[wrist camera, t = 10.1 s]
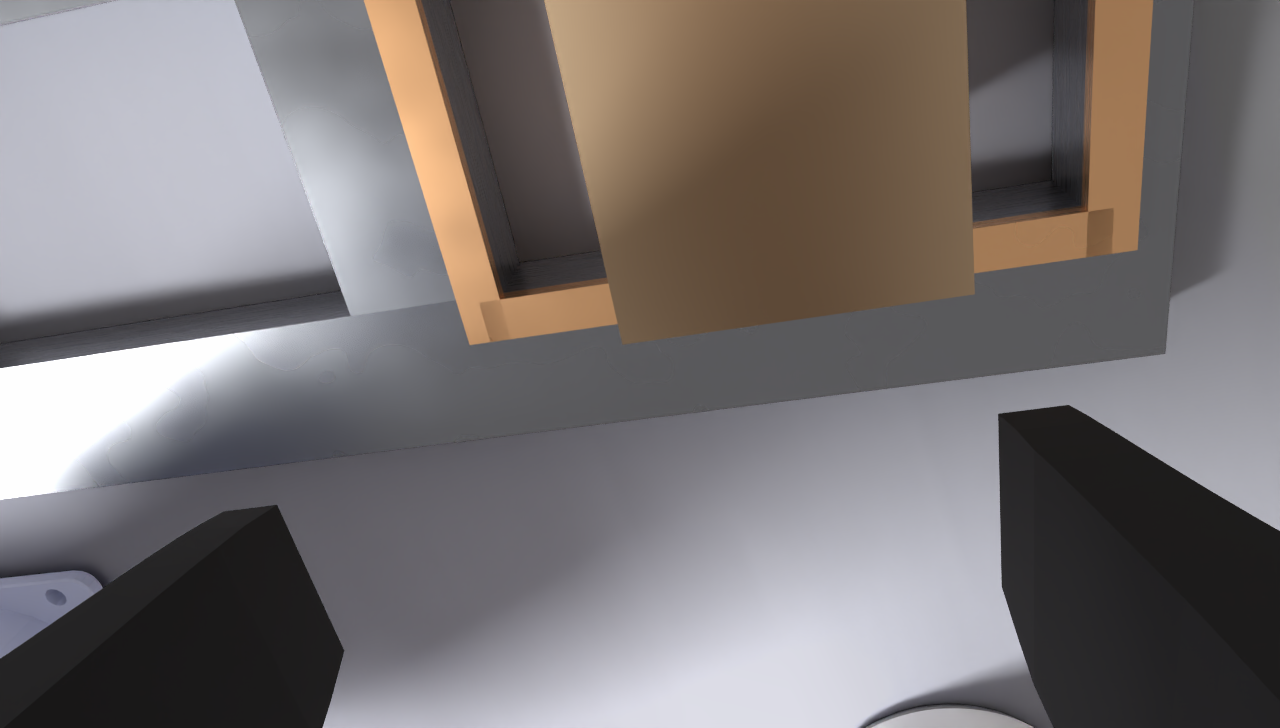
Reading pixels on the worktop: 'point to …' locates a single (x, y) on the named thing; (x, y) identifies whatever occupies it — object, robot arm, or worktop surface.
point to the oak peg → (770, 155)
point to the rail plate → (573, 275)
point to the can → (949, 718)
